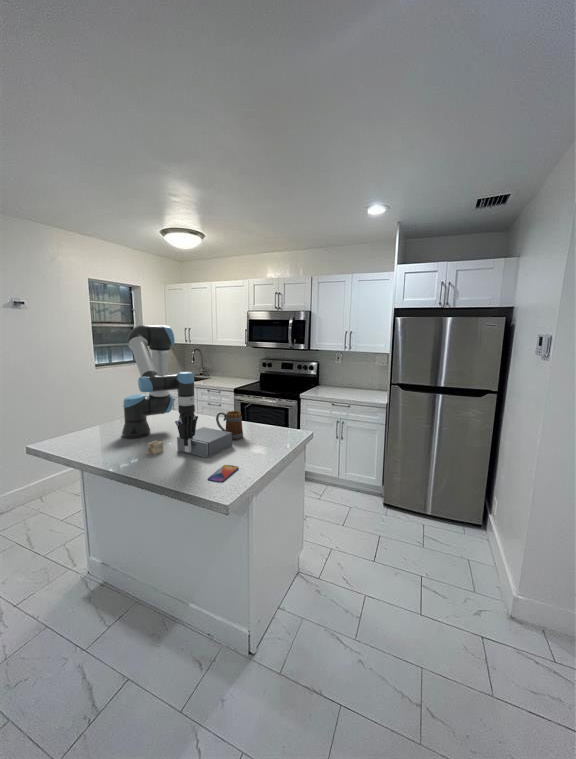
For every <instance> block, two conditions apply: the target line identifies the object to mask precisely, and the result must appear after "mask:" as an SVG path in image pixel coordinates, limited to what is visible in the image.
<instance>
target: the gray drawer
mask: <svg viewBox="0 0 576 759" xmlns="http://www.w3.org/2000/svg"><path fill="white" fill-rule="evenodd" d="M176 443H177V445H176V446H177V451H179V452H183V453H185V454H190V455H194V456H195V455H196V456H199V457H204V458H209V457H208V443H206V442H201V441H196V440H192V444H191V452H185V446H184V439H180V437H179V436H177V438H176Z"/></svg>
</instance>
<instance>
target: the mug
mask: <svg viewBox="0 0 576 759" xmlns="http://www.w3.org/2000/svg"><path fill="white" fill-rule="evenodd" d="M220 415H223V416H224V418H223V419H222V421H223V422H225V428H224V427H223V426H222V425H221V423H220V420H219V418H220V417H219V416H220ZM215 419H216V420H215V422H216V426H218V428H219V430H221V431H226V432H232V441H239V440H241V439H243V437H244V430H243V420H242V419H243V416H242V412H241V411H239V410H230V411H226V412H223V411H221V412H218V413H217V414H216V416H215Z"/></svg>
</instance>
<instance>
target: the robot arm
mask: <svg viewBox="0 0 576 759" xmlns="http://www.w3.org/2000/svg"><path fill="white" fill-rule="evenodd" d="M126 341H127V345H128V346H127V347H128V348H129V349H130V351H132V353H133V357H134V360H135V364H136V365H137V366H136V367H137V368H138V372H139V374H140V377H138V380H137V381H138V383H137V384H138V389H139V392H141V393H139V394H138V393H136V394H132V395H130V396H126V397H125V398H124V399H123V406H122V407H123V414H124V417H123V418H124V424H123V429H122V432H121V437H122V436H123V437H122V438H124V437H126V438H125V439H139V437H140V438H144V437H148V436H149V435H150V434H151V428H150V426H149V423H148V421H147V416H156V415H164V414H169V413H170V412H171V411H172V410H173V406H174V397H173V395H172V394H171V393H170V391H173V390H176V391H177V402H178V403H177V404H178V408H177V409H178V414H179V416H178V420H175V421H174V422H175V424H176V427H177V431H178V437H179V436H180V439H184V446H185V452H184V453H186V452H191V444H192V438H193V437H192V436H195V430H197V422H198V418H199V416H198V415H195V411H196V407H195V401H196V400H195V376H194V372H191V371H180V372H178V373H172V374H168V368H169V367H168V366H169V365H168V364H169V362H168V361H169V360H168V359H169V356H168V354H169V351H171V350H172V349H171V348H172V347H173V346H174V345H175V334H174V331H173V329H172V327H170V326H169V325H163V324H162V325H161V324H154V325H153V324H152V325H150V324H140V325H137V326H135V327H134V328H133V329H131V331H130V332H129V334H128V335H127V340H126ZM150 352H151V353H150ZM144 393H149V394H148V396H146V394H144Z"/></svg>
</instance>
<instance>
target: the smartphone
mask: <svg viewBox="0 0 576 759" xmlns="http://www.w3.org/2000/svg"><path fill="white" fill-rule="evenodd" d="M239 468H240V467H239V466H235V465H230V464H224V465H223V466H221V467H220V468H218V469H217V470H216V471H215V472H214V473H212V474H211V475H210V476H209V477H208V478H207V481H209V482H215V483H219V482H222V483H224V482H225V481H226V480H228V479H229V478H230V477H231V476H232V475H234V474H235V473H236V472H237V471H239Z"/></svg>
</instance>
